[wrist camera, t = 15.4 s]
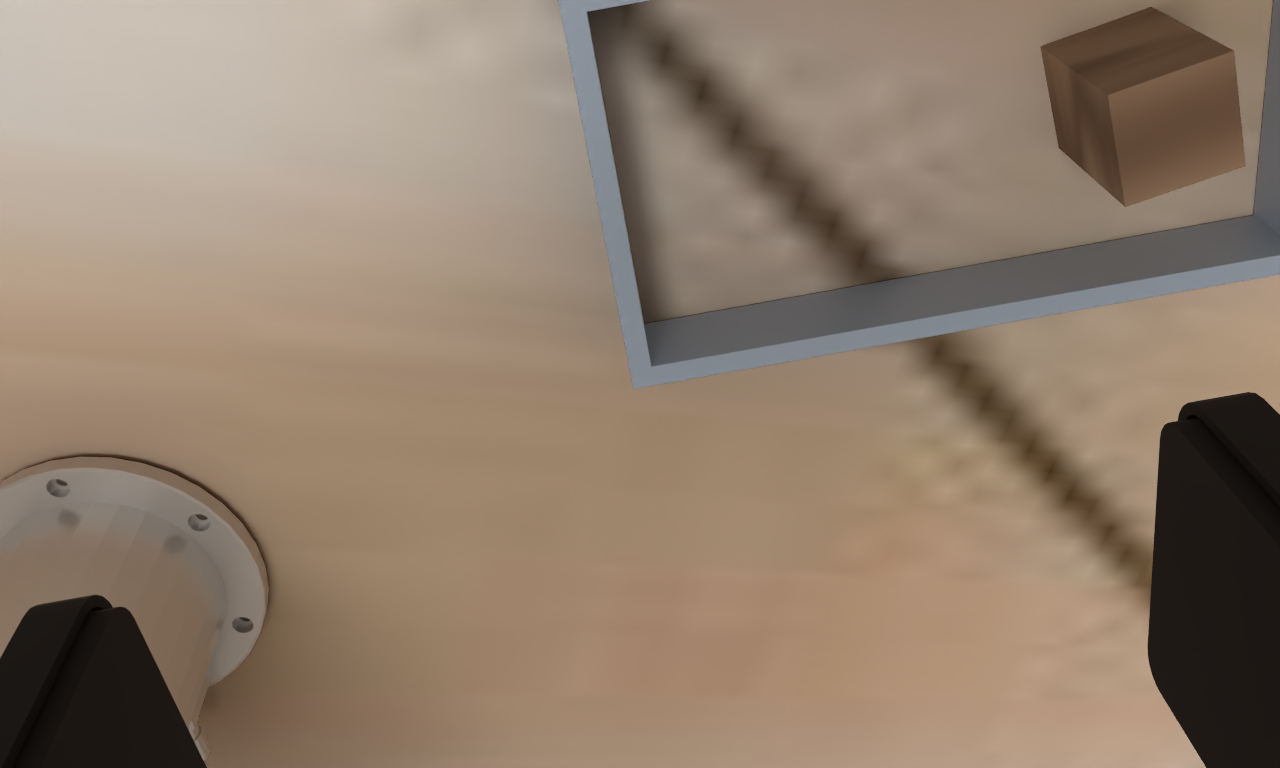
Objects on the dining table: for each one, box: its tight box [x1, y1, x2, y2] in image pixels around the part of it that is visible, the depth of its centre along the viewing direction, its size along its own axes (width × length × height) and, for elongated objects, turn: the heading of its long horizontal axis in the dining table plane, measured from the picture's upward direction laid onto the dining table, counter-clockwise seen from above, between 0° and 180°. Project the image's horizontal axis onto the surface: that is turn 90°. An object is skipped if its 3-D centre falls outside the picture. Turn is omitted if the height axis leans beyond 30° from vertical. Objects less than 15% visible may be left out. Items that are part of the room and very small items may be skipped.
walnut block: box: [1041, 7, 1245, 207], centre depth 42 cm, size 4×4×6 cm
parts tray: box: [558, 0, 1280, 389], centre depth 43 cm, size 15×26×4 cm, turn 99°
